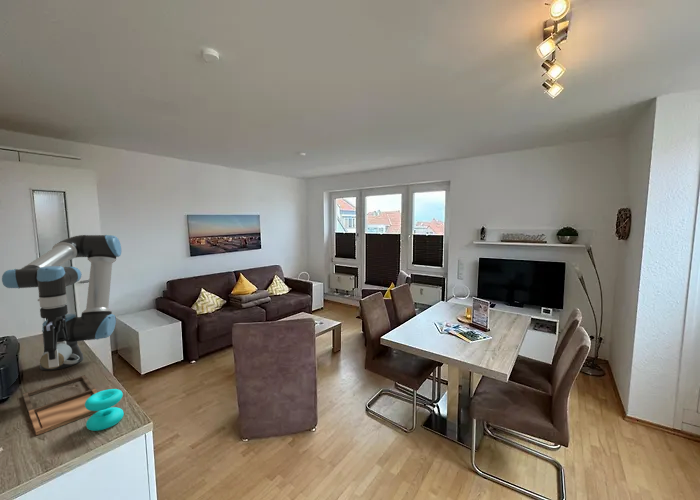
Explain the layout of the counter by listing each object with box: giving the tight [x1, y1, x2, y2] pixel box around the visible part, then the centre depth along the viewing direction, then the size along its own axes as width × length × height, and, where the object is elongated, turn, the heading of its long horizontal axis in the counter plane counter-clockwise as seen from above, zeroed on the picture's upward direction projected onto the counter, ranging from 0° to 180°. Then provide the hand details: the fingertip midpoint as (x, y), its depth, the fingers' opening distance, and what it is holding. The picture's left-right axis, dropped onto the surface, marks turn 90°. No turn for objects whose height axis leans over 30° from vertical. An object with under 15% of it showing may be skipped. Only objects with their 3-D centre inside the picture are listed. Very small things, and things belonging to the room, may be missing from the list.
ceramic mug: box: [39, 343, 80, 369], centre depth 117 cm, size 11×8×8 cm
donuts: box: [85, 388, 125, 432], centre depth 101 cm, size 10×10×10 cm
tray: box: [22, 374, 99, 436], centre depth 113 cm, size 35×18×1 cm, turn 53°
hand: (58, 361), depth 117 cm, fingers closed on ceramic mug, 8 cm apart
